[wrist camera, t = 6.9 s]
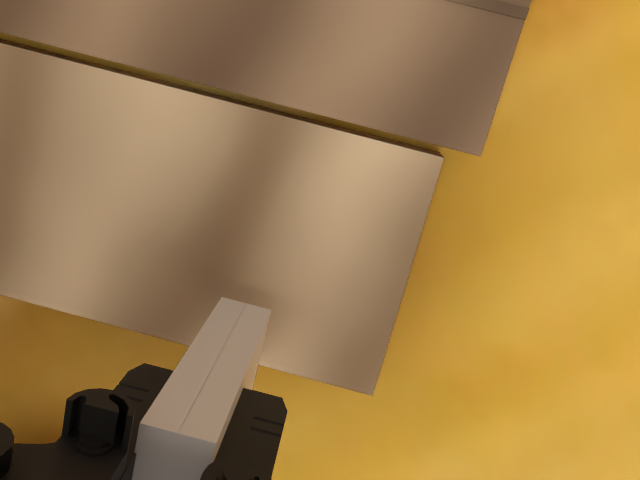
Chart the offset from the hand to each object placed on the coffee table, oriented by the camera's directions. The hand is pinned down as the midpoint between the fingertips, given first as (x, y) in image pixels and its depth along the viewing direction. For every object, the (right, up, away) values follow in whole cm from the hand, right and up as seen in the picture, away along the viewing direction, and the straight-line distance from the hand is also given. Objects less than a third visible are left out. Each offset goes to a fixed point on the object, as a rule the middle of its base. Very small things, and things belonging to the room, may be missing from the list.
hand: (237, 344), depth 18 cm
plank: (-8, +6, +3) cm, 10 cm away
